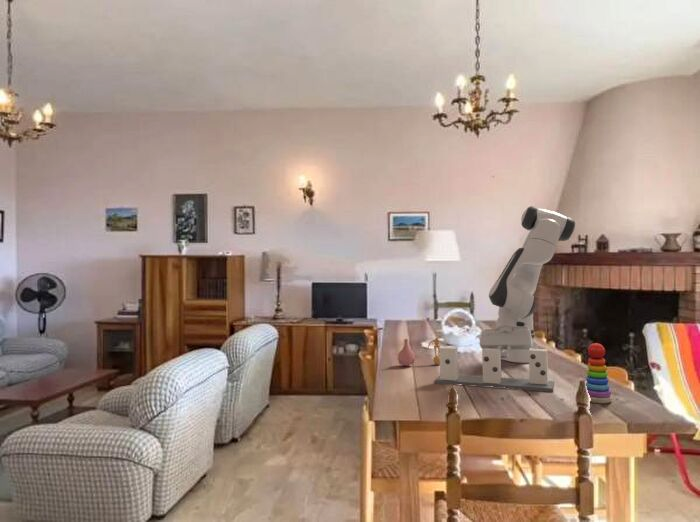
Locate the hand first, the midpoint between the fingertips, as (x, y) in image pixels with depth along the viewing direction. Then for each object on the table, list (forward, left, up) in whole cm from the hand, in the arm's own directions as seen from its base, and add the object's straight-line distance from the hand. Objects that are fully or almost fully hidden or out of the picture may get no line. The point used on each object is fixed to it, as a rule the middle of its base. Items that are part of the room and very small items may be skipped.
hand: (503, 357), depth 198 cm
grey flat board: (+8, -3, -9) cm, 12 cm away
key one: (+11, -19, -7) cm, 23 cm away
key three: (+8, +13, -7) cm, 17 cm away
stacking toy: (+21, +32, -9) cm, 39 cm away
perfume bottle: (-13, -44, -9) cm, 47 cm away
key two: (+11, -3, -7) cm, 14 cm away
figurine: (-21, -32, -9) cm, 39 cm away
